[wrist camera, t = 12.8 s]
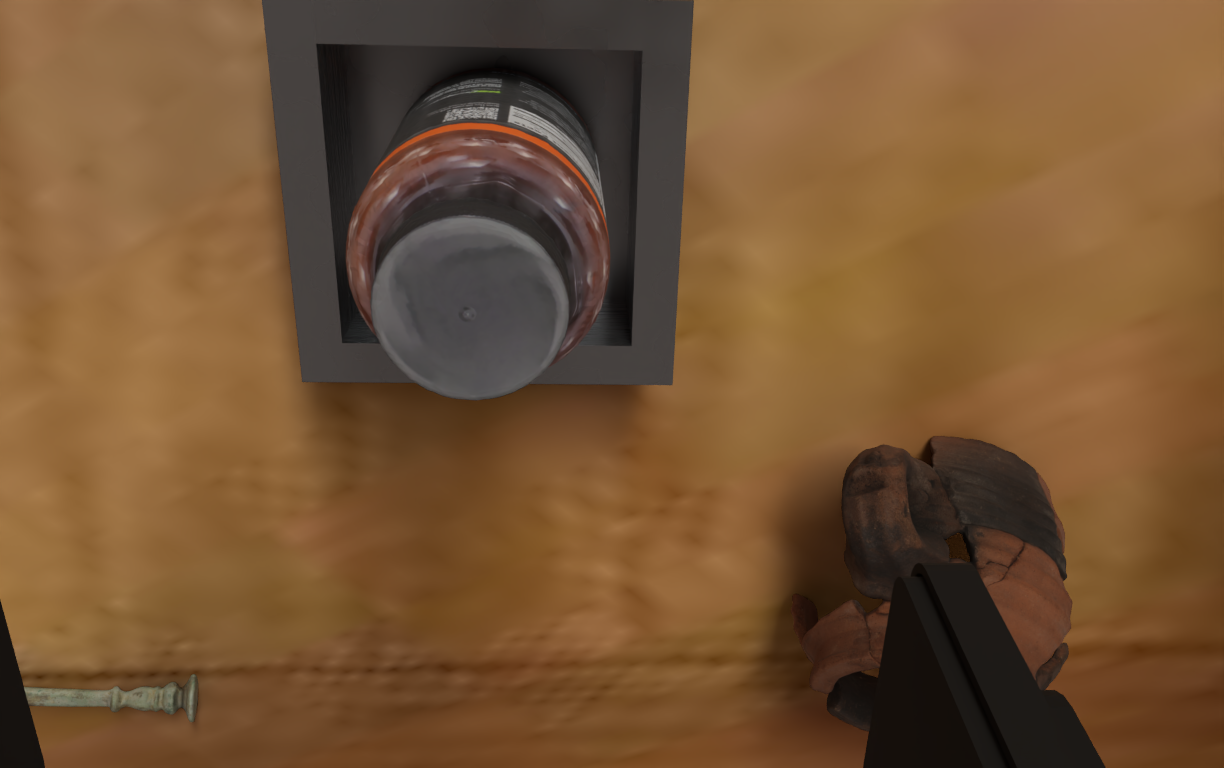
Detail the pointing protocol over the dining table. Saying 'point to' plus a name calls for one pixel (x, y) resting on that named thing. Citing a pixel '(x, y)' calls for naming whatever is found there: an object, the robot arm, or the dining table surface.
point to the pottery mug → (939, 558)
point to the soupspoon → (122, 698)
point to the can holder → (451, 44)
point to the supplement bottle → (482, 236)
